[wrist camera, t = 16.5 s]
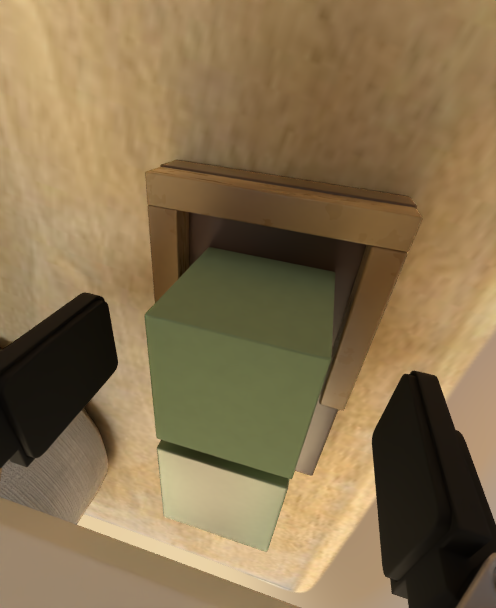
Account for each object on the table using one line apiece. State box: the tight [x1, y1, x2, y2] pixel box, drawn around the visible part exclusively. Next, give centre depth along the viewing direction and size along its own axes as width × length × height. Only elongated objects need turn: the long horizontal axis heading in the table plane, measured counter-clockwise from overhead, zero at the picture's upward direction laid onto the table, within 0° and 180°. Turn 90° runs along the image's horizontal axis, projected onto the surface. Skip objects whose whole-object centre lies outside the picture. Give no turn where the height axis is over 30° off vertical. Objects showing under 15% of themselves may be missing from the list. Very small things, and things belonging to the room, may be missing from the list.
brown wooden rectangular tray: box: [145, 160, 422, 552], centre depth 12 cm, size 8×14×6 cm, turn 174°
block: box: [145, 247, 335, 479], centre depth 10 cm, size 4×5×4 cm
